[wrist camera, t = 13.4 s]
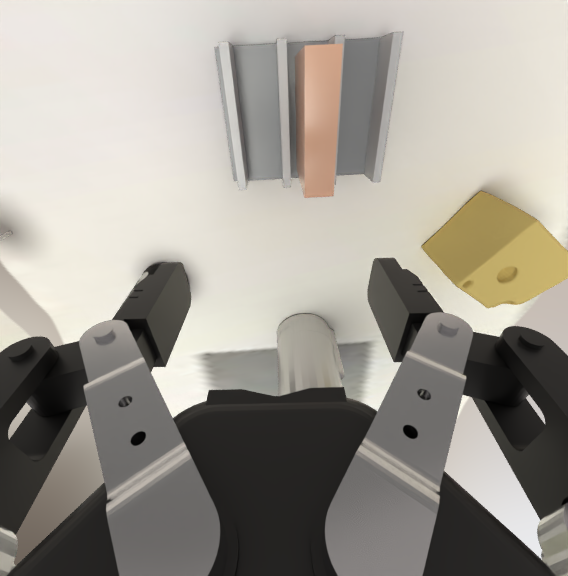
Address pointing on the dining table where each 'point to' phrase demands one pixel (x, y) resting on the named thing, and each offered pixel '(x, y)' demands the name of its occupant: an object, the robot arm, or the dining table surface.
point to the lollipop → (5, 235)
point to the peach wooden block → (317, 116)
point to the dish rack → (282, 115)
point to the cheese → (498, 252)
